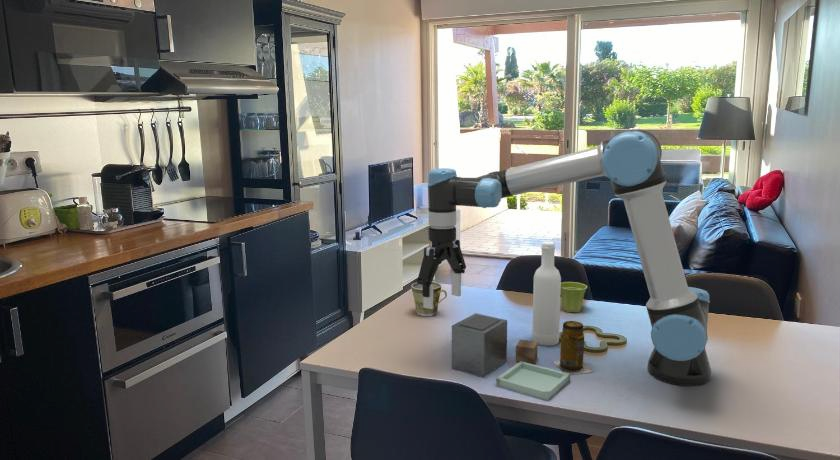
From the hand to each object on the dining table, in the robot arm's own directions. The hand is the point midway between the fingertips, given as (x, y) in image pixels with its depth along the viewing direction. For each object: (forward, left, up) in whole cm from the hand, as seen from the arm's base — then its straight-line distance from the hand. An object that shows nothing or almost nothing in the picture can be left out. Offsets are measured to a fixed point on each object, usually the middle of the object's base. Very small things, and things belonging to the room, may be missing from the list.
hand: (442, 301), depth 173 cm
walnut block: (-21, -10, -16) cm, 28 cm away
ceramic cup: (+23, -26, -16) cm, 38 cm away
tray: (-29, +2, -16) cm, 33 cm away
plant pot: (-14, -57, -16) cm, 61 cm away
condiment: (-33, -13, -16) cm, 39 cm away
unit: (-12, 0, -16) cm, 20 cm away
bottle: (-19, -26, -16) cm, 36 cm away
